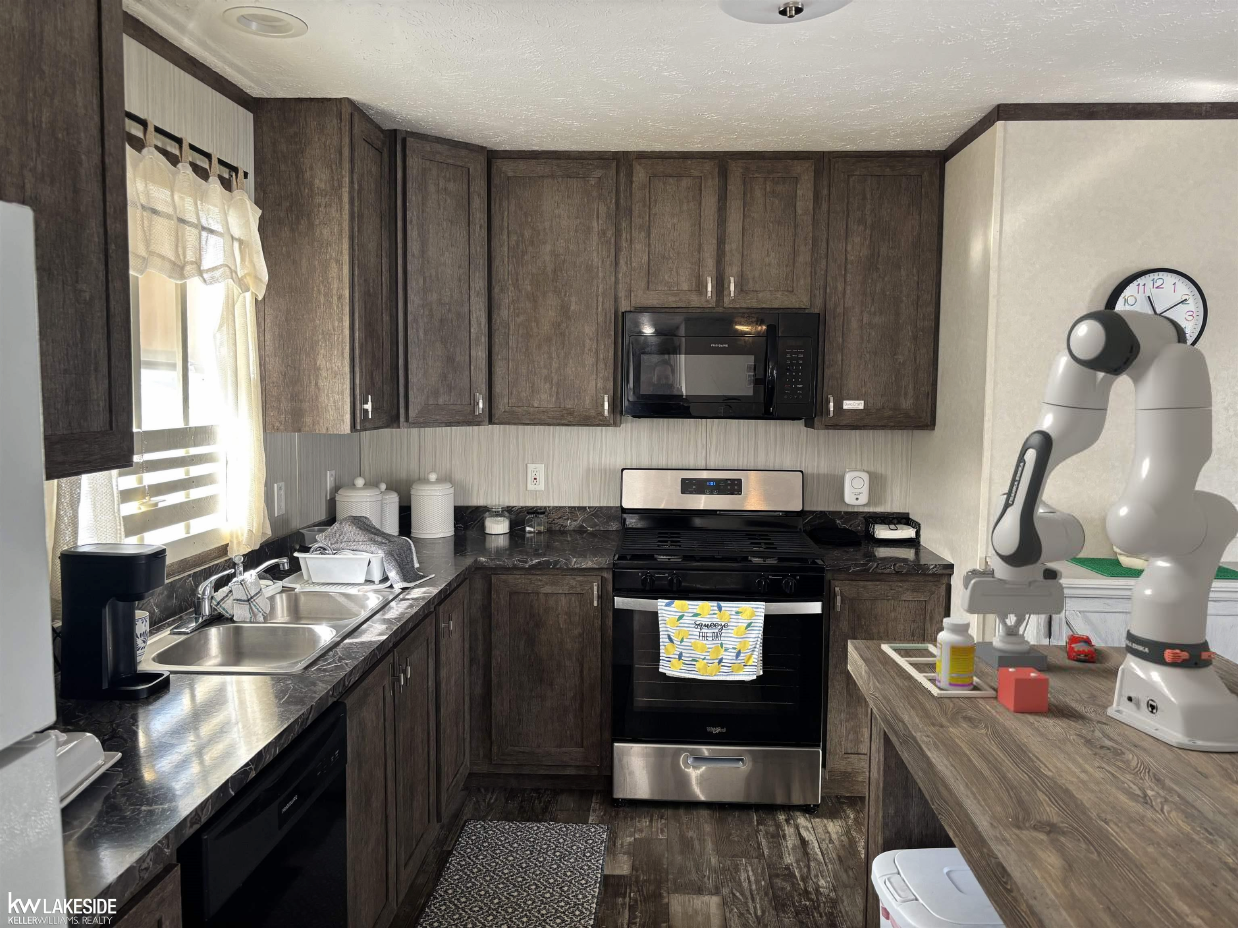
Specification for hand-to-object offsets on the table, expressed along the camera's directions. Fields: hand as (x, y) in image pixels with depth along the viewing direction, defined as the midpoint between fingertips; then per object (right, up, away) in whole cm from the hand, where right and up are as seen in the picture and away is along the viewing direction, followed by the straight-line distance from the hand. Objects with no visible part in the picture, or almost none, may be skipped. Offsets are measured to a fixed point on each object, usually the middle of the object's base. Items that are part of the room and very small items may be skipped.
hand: (1010, 634), depth 179 cm
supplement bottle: (-17, -7, -15) cm, 24 cm away
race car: (+18, -6, +7) cm, 20 cm away
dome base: (0, -6, 0) cm, 6 cm away
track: (-18, -6, -5) cm, 19 cm away
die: (-9, -8, -25) cm, 28 cm away
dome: (0, -3, 0) cm, 3 cm away
